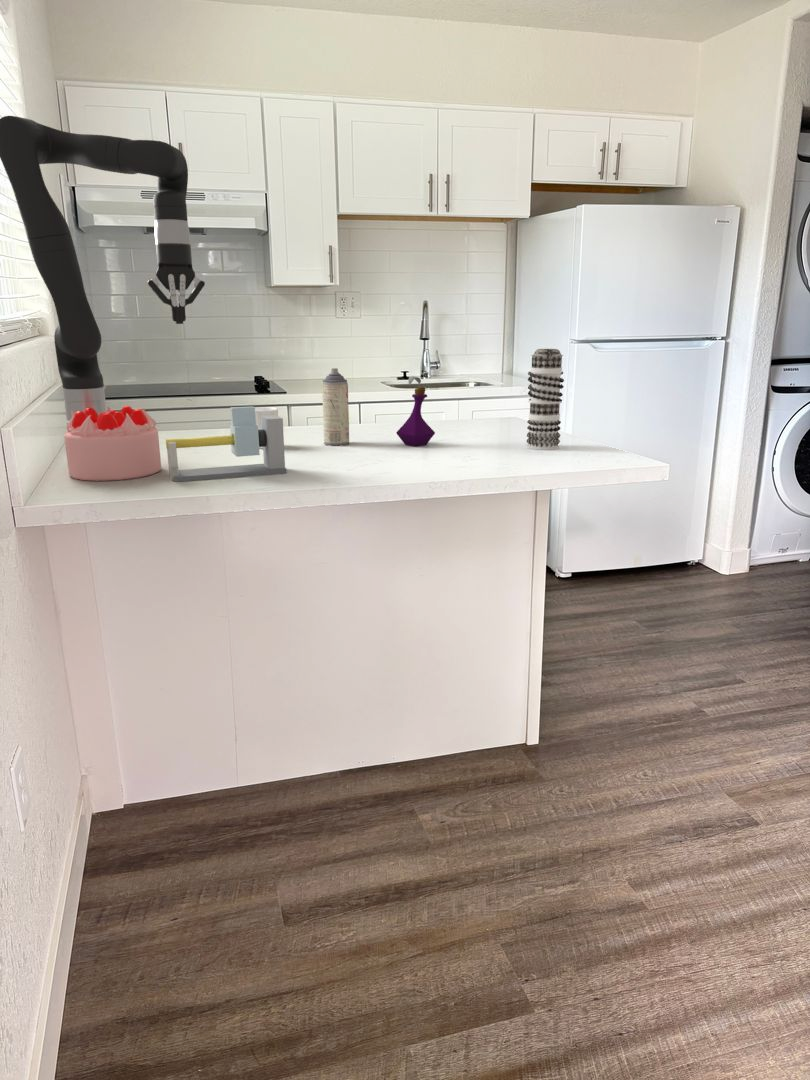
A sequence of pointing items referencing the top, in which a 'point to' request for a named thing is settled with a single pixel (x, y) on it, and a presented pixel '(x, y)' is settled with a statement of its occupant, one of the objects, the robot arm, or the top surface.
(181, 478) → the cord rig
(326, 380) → the aerosol can
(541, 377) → the decorative candle
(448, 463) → the top surface
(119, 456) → the cake
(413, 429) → the perfume bottle
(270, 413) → the white cup
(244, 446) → the sleeve
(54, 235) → the robot arm
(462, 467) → the top surface
